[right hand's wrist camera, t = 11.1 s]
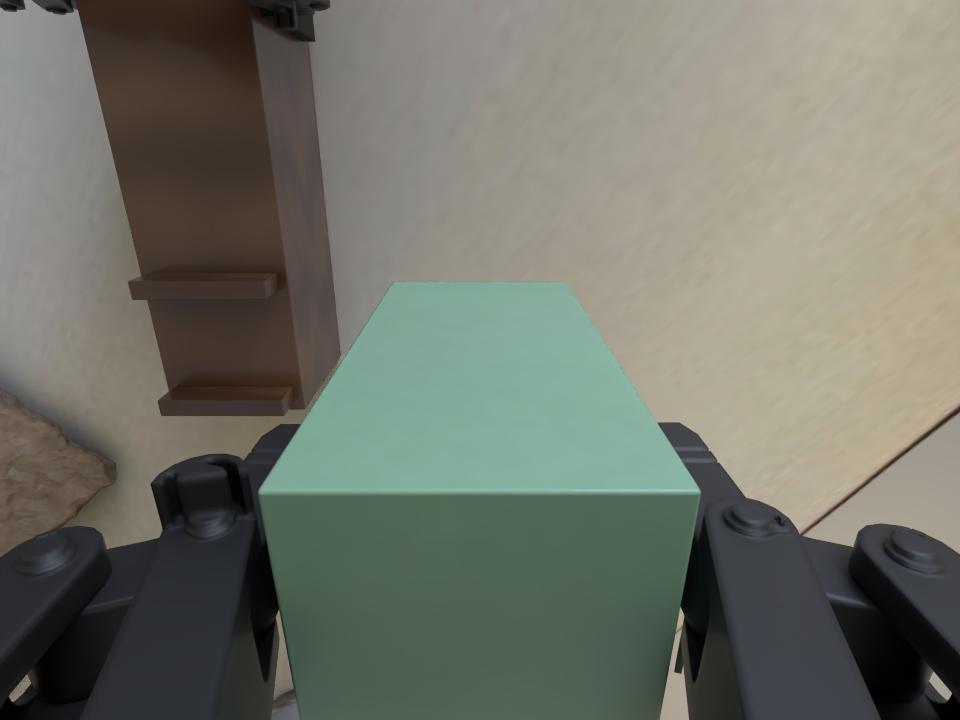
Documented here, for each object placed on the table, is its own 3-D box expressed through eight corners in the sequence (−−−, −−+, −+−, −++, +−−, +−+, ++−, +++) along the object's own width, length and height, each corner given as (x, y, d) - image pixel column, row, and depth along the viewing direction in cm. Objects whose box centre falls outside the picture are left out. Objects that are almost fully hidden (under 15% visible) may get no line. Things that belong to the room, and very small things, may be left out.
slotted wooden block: (341, 355, 41) (294, 425, 30) (236, 355, 41) (154, 425, 30) (297, -61, 31) (208, -163, 21) (160, -61, 31) (3, -163, 21)
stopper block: (558, 434, 17) (650, 778, 8) (401, 435, 17) (308, 778, 8) (567, 281, 15) (704, 491, 6) (392, 281, 15) (254, 491, 6)
